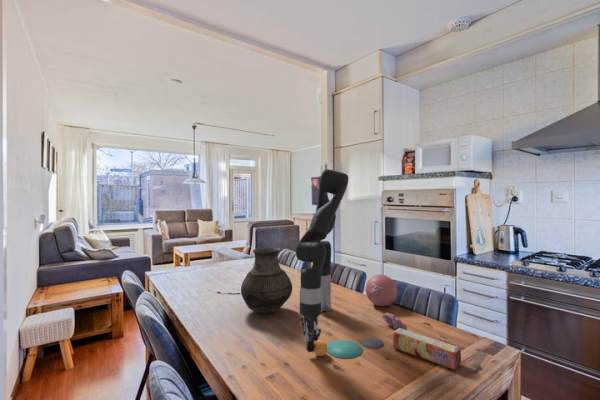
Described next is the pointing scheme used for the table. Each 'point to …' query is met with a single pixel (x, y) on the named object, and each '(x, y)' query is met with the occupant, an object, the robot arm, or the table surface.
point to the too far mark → (372, 343)
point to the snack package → (427, 348)
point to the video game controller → (393, 321)
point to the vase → (266, 283)
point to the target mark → (344, 349)
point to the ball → (320, 348)
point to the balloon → (381, 290)
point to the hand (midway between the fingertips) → (310, 350)
